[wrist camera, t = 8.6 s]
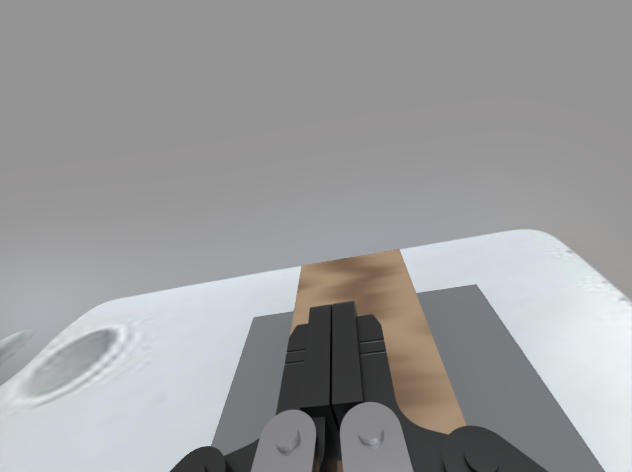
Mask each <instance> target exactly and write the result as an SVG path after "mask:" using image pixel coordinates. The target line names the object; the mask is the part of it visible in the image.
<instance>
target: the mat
mask: <svg viewBox="0 0 632 472" xmlns="http://www.w3.org/2000/svg"><path fill="white" fill-rule="evenodd" d="M416 294H417V297H418V300H419V302H420V305H421V307H422V310H423V313H424V315H425V318H426V321H427V323H428V326H429V328H430V331H431V334H432V336H433V339H434V342H435V344H436V347H437V349H438V352H439V355H440V357H441V360H442V362H443V365H444V368H445V370H446V373H447V376H448V378H449V381H450V383H451V386H452V389H453V391H454V394H455V397H456V399H457V402H458V404H459V407H460V410H461V412H462V415H463V418H464V420H465V423H466V425H467V426H468V425H470V426H479V427H483V428H486V429H489V430H491V431H493V432H495V433H496V434H498V435H499V436H501V437H502V438H504V439H505V440H506V441H508V442H509V443H510V444H512V445H513V446H514V447H516V448H517V449H518V450H520V451H521V452H523V453H524V454H525V455H527V456H528V457H529V458H531V459H532V460H533V461H535V462H536V463H537V464H539V465H540V466H541V467H543V468H544V469H546V470H547V471H548V472H605V471H604V469H603V468H602V466H601V465H600V464H599V462H598V461H597V459H596V458H595V456H594V455H593V453H592V452H591V450H590V449H589V448H588V446H587V445H586V443H585V442H584V440H583V439H582V437H581V436H580V434H579V433H578V432H577V430H576V429H575V427H574V426H573V424H572V423H571V421H570V420H569V418H568V417H567V416H566V414H565V413H564V411H563V410H562V408H561V407H560V405H559V404H558V402H557V401H556V400H555V398H554V397H553V395H552V394H551V392H550V391H549V389H548V388H547V386H546V385H545V384H544V382H543V381H542V379H541V378H540V376H539V375H538V373H537V372H536V370H535V369H534V368H533V366H532V365H531V363H530V362H529V360H528V359H527V357H526V356H525V354H524V353H523V352H522V350H521V349H520V347H519V346H518V344H517V343H516V341H515V340H514V338H513V337H512V336H511V334H510V333H509V331H508V330H507V328H506V327H505V325H504V324H503V322H502V321H501V320H500V318H499V317H498V315H497V314H496V312H495V311H494V309H493V308H492V306H491V305H490V304H489V302H488V301H487V299H486V298H485V296H484V295H483V293H482V292H481V290H480V289H479V288H478V286H477V285H476V284H475V285H468V286H462V287H455V288H448V289H442V290H435V291H428V292H421V293H416ZM293 314H294V311H293V312H287V313H280V314H273V315H266V316H260V317H254V318H253V321H252V324H251V327H250V330H249V333H248V336H247V339H246V342H245V345H244V348H243V351H242V354H241V357H240V360H239V364H238V367H237V370H236V373H235V376H234V379H233V382H232V385H231V388H230V391H229V394H228V397H227V400H226V403H225V406H224V409H223V412H222V415H221V418H220V421H219V424H218V427H217V430H216V433H215V436H214V439H213V442H212V445H211V447H215V448H217V449H218V450H220V451H221V453H222V454H223V456H225V455H227V454H229V453H231V452H233V451H236V450H238V449H240V448H242V447H245V446H247V445H249V444H251V443H253V442H254V441H256V440H257V439H259V438H260V436H261V433H262V431H263V429H264V428H265V426H266V425H267V423H268V422H269V421H270V420H271V419H272V418H273V417H275V415H276V411H277V405H278V399H279V393H280V387H281V382H282V376H283V370H284V366H285V358H286V354H287V346H288V341H289V337H290V332H291V326H292V320H293Z"/></svg>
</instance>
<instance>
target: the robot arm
mask: <svg viewBox="0 0 632 472" xmlns="http://www.w3.org/2000/svg"><path fill="white" fill-rule="evenodd" d="M337 461H342V463H343V472H548V471H547V470H546V469H544V468H543V467H541V466H540V465H539V464H537V463H536V462H535V461H533V460H532V459H531V458H529V457H528V456H527V455H525V454H524V453H523V452H521V451H520V450H518V449H517V448H516V447H514V446H513V445H512V444H510V443H509V442H508V441H506V440H505V439H504V438H502V437H501V436H499V435H498V434H496V433H495V432H493V431H491V430H489V429H486V428H483V427H479V426H470V425H468V426H462V427H459V428H457V429H455V430H453V431H452V432H451V433H450V434H449V435H448V434H444V433H440V432H436V431H433V430H429V429H425V428H422V427H420V426H418V425H416V424H414V423H413V422H411V421H410V420H409V419H408V418H407V417H406V416H405V415H404V414H403V413H402V412H401V410H400V408H399V407H398V404H397V402H396V398H395V393H394V388H393V383H392V378H391V372H390V367H389V362H388V357H387V352H386V346H385V341H384V336H383V331H382V326H381V324H380V323H379V321H378V320H377V319H376V318H375V316H374V315H373V314H370V315H363V316H358V314H357V309H356V305H355V301H348V302H342V303H335V304H333V306H332V304H329V305H322V306H316V307H310V311H309V320H308V323H307V324H300V325H297V326H296V327H295V329H294V330H293V332H292V334H291V335H290V337H289V341H288V346H287V354H286V358H285V366H284V370H283V376H282V382H281V387H280V393H279V399H278V405H277V411H276V415H275V417H273V418H272V419H271V420H270V421H269V422H268V423H267V425H266V426H265V428H264V429H263V431H262V433H261V436H260V438H259V439H257V440H256V441H254V442H253V443H251V444H249V445H247V446H245V447H242V448H240V449H238V450H236V451H233V452H231V453H229V454H227V455H225V456H223V454H222V453H221V451H220V450H218V449H217V448H215V447H211V446H205V447H200V448H198V449H195V450H194V451H192V452H190V453H189V454H188V455H186V456H185V457H184V458H183V459H182V460H181V461H180V462H179V463H178V464H177V465H176V466H175V467H174V468H173V469H172V470H171V471H170V472H338V470H337Z"/></svg>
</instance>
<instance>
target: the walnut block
mask: <svg viewBox="0 0 632 472" xmlns="http://www.w3.org/2000/svg"><path fill="white" fill-rule="evenodd" d="M348 301H355V305H356V309H357V314H358V316H363V315H370V314H373V315H374V316H375V318H376V319H377V320H378V321H379V323H380V324H381V326H382V331H383V336H384V341H385V346H386V352H387V357H388V362H389V367H390V372H391V378H392V383H393V388H394V393H395V398H396V402H397V404H398V407H399V408H400V410H401V412H402V413H403V414H404V415H405V416H406V417H407V418H408V419H409V420H410V421H411V422H413V423H414V424H416V425H418V426H420V427H422V428H425V429H429V430H433V431H436V432H440V433H444V434H448V435H449V434H450V433H451V432H452V431H453V430H455V429H457V428H459V427H462V426H467V425H466V423H465V420H464V418H463V415H462V412H461V410H460V407H459V404H458V402H457V399H456V397H455V394H454V391H453V389H452V386H451V383H450V381H449V378H448V376H447V373H446V370H445V368H444V365H443V362H442V360H441V357H440V355H439V352H438V349H437V347H436V344H435V342H434V339H433V336H432V334H431V331H430V328H429V326H428V323H427V321H426V318H425V315H424V313H423V310H422V307H421V305H420V302H419V300H418V297H417V294H416V292H415V289H414V286H413V284H412V281H411V279H410V276H409V273H408V271H407V268H406V265H405V263H404V260H403V258H402V255H401V252H400V250H399V249H397V250H391V251H385V252H380V253H374V254H368V255H362V256H356V257H350V258H344V259H339V260H333V261H327V262H321V263H315V264H309V265H303V266H302V267H301V273H300V279H299V285H298V291H297V296H296V302H295V308H294V314H293V320H292V326H291V332H290V335H291V334H292V332H293V330H294V329H295V327H296V326H297V325H300V324H307V323H308V320H309V311H310V307H316V306H322V305H329V304H332V306H333V304H335V303H342V302H348ZM337 470H338V472H343V463H342V461H337Z"/></svg>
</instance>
